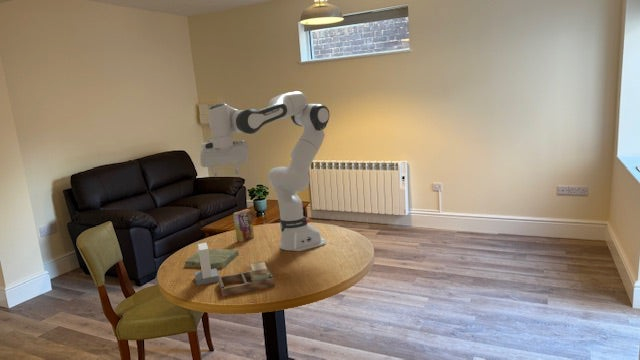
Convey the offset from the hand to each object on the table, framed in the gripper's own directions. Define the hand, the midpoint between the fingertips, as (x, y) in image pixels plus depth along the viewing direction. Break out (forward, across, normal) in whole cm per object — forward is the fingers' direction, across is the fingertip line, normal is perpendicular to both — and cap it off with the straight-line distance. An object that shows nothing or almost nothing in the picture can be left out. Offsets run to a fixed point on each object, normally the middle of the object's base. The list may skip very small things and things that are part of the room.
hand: (226, 174), depth 195 cm
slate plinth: (+41, +14, +10) cm, 45 cm away
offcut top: (+37, -6, +24) cm, 44 cm away
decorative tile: (+42, +10, -12) cm, 45 cm away
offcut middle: (+39, -6, +24) cm, 46 cm away
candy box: (+41, -10, -37) cm, 56 cm away
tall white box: (+39, +14, +10) cm, 42 cm away
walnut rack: (+41, 0, +24) cm, 48 cm away
